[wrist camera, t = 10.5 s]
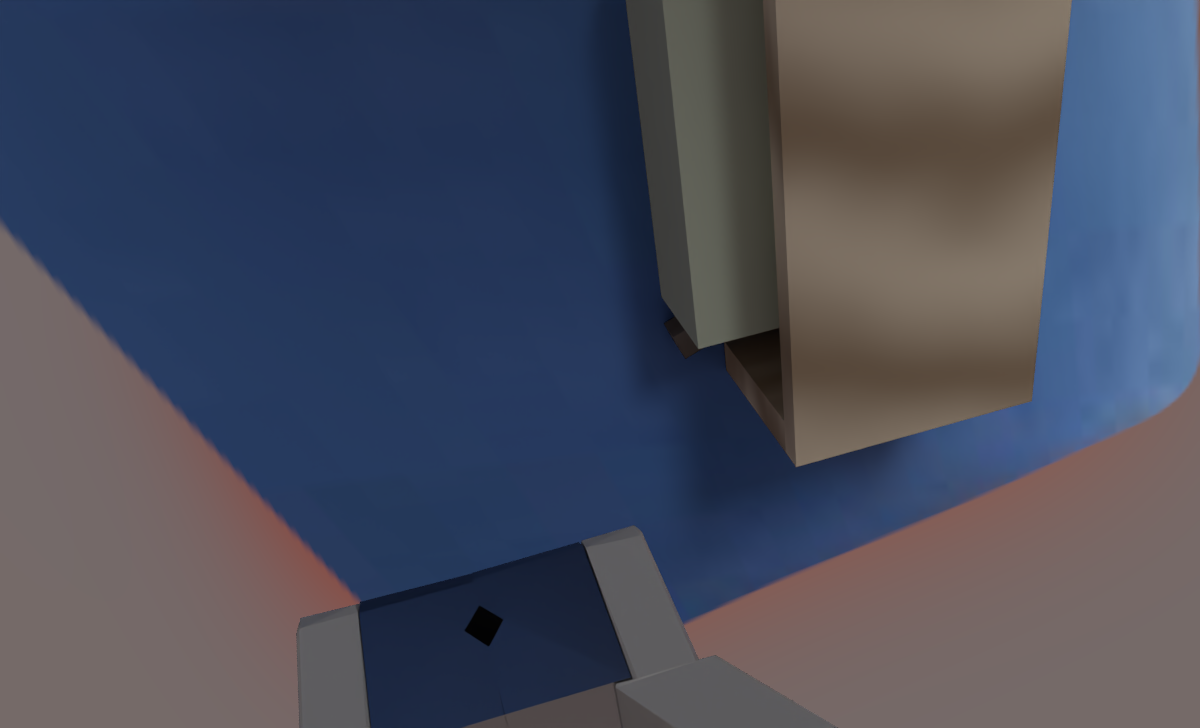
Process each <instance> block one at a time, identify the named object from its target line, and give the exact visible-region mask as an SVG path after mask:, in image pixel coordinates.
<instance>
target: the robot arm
mask: <svg viewBox="0 0 1200 728" xmlns="http://www.w3.org/2000/svg"><path fill="white" fill-rule="evenodd" d="M296 636H297V667H298V696H299V697H298V698H299V728H838V727H836V726H834V725H833V724H831V723H829V722H827V721H826V720H824V719H822V718H821V717H819V716H817V715H816V714H814V713H812V712H811V711H809V710H807V709H806V708H804V707H802V706H800V705H799V704H797V703H795V702H794V701H792V700H790V699H789V698H787V697H785V696H784V695H782V694H780V693H779V692H777V691H775V690H773V689H772V688H770V687H768V686H767V685H765V684H763V683H762V682H760V681H758V680H757V679H755V678H753V677H752V676H750V675H748V674H747V673H745V672H743V671H741V670H740V669H738V668H737V667H735V666H733V665H731V664H729V663H728V662H726V661H725V660H723V659H721V658H720V657H718V656H716V655H714V656H711V657H707V658H703V659H698V657H697V655H696V652H695V650H694V648H693V645H692V643H691V641H690V639H689V637H688V634H687V632H686V630H685V628H684V625H683V623H682V621H681V619H680V616H679V614H678V612H677V610H676V608H675V605H674V603H673V601H672V599H671V596H670V594H669V592H668V590H667V587H666V585H665V583H664V581H663V579H662V576H661V574H660V572H659V570H658V567H657V565H656V563H655V561H654V558H653V556H652V554H651V552H650V550H649V547H648V545H647V543H646V541H645V538H644V536H643V534H642V532H641V531H640V530H639V529H638V528H637V527H635V526H630V527H627V528H623V529H620V530H616V531H613V532H610V533H606V534H603V535H599V536H596V537H593V538H589V539H586V540H582V542H581V544H580V543H579V542H577V543H574V544H570V545H567V546H563V547H560V548H556V549H553V550H549V551H546V552H542V553H539V554H536V555H532V556H529V557H525V558H522V559H518V560H515V561H511V562H508V563H504V564H501V565H497V566H494V567H490V568H487V569H484V570H480V571H477V572H473V573H472V574H468V575H464V576H460V577H456V578H452V579H448V580H444V581H440V582H436V583H432V584H428V585H425V586H421V587H417V588H413V589H409V590H405V591H401V592H397V593H393V594H389V595H385V596H381V597H377V598H373V599H369V600H366V601H362V602H360V604H356V605H352V606H348V607H344V608H340V609H336V610H332V611H328V612H324V613H320V614H315V615H312V616H307V617H303V618H301V619H300V623H299V626H298V630H297V633H296Z"/></svg>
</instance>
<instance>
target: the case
mask: <svg viewBox="0 0 1200 728" xmlns="http://www.w3.org/2000/svg"><path fill="white" fill-rule="evenodd" d="M626 7H627V15H628V24H629V32H630V40H631V49H632V57H633V65H634V73H635V82H636V90H637V98H638V107H639V115H640V123H641V131H642V140H643V148H644V156H645V164H646V173H647V181H648V189H649V198H650V206H651V214H652V222H653V231H654V239H655V247H656V256H657V264H658V272H659V280H660V289H661V297H662V298H663V300H664V301H665V302H666V304H667V305H668V307H669V308H670V310H671V311H672V312H673V314H674V315H675V317H676V318H677V319H678V321H679V322H680V324H681V325H682V327H683V328H684V329H685V331H686V332H687V334H688V335H689V337H690V338H691V339H692V341H693V342H694V344H695V345H696V346H697V348H698V349H701V348H704V347H708V346H712V345H716V344H720V343H723V342H727V341H731V340H735V339H739V338H742V337H746V336H750V335H754V334H758V333H761V332H765V331H769V330H773V329H777V328H779V310H778V290H777V270H776V250H775V231H774V211H773V191H772V171H771V152H770V132H769V112H768V93H767V73H766V53H765V33H764V14H763V0H626Z"/></svg>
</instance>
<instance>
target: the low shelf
mask: <svg viewBox="0 0 1200 728" xmlns="http://www.w3.org/2000/svg"><path fill="white" fill-rule="evenodd" d="M1071 2H1072V0H763V14H764V33H765V53H766V73H767V93H768V112H769V132H770V152H771V171H772V191H773V211H774V231H775V250H776V270H777V290H778V310H779V328H777V329H773V330H769V331H765V332H761V333H758V334H754V335H750V336H746V337H742V338H739V339H735V340H731V341H727V342H724V348H725V360H726V370H727V372H728V373H729V374H730V376H731V377H732V379H733V380H734V381H735V383H736V384H737V386H738V387H739V388H740V390H741V391H742V392H743V394H744V395H745V397H746V398H747V399H748V401H749V402H750V404H751V405H752V406H753V408H754V409H755V411H756V412H757V413H758V415H759V416H760V417H761V419H762V420H763V422H764V423H765V424H766V426H767V427H768V429H769V430H770V431H771V433H772V434H773V435H774V437H775V438H776V440H777V441H778V442H779V444H780V445H781V447H782V448H783V449H784V451H785V452H786V454H787V455H788V456H789V458H790V459H791V460H792V462H793V463H794V465H795V466H796V467H798V466H802V465H806V464H809V463H813V462H816V461H820V460H823V459H827V458H830V457H834V456H838V455H841V454H845V453H848V452H852V451H855V450H859V449H863V448H866V447H870V446H873V445H877V444H880V443H884V442H887V441H891V440H895V439H898V438H902V437H905V436H909V435H912V434H916V433H919V432H923V431H927V430H930V429H934V428H937V427H941V426H944V425H948V424H952V423H955V422H959V421H962V420H966V419H969V418H973V417H976V416H980V415H984V414H987V413H991V412H994V411H998V410H1001V409H1005V408H1008V407H1012V406H1016V405H1019V404H1023V403H1026V402H1030V401H1032V393H1033V383H1034V373H1035V363H1036V353H1037V343H1038V333H1039V323H1040V313H1041V303H1042V293H1043V283H1044V273H1045V263H1046V252H1047V242H1048V232H1049V222H1050V212H1051V202H1052V192H1053V182H1054V172H1055V162H1056V152H1057V142H1058V132H1059V122H1060V112H1061V102H1062V92H1063V82H1064V72H1065V62H1066V52H1067V42H1068V32H1069V22H1070V12H1071ZM664 324H665V326H666V328H667V330H668V331H669V333H670V335H671V337H672V338H673V340H674V342H675V343H676V345H677V347H678V348H679V350H680V351H681V353H682V354H683V356H684V357H685V359H686V358H688V357H689V356H691V355H693V354H694V353H696V352H698V351H699V350H701V349H703V348H701V349H698V348H697V346H696V345H695V344H694V342H693V341H692V339H691V338H690V337H689V335H688V334H687V332H686V331H685V329H684V328H683V327H682V325H681V324H680V322H679V321H678V319H677V318H676V317H674V318H672V319H670V320H669V321H667V322H665V323H664Z"/></svg>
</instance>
